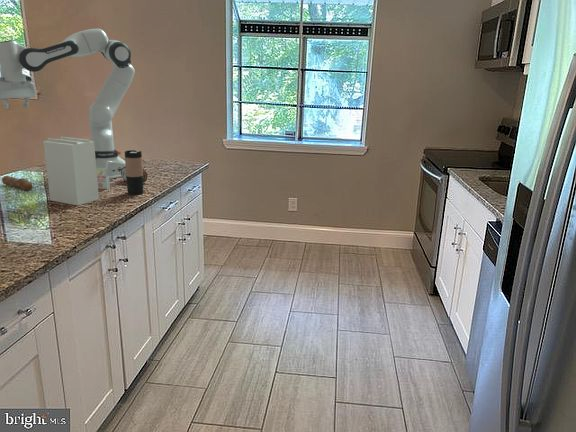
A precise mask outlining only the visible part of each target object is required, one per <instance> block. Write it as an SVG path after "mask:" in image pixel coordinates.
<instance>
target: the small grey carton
mask: <svg viewBox="0 0 576 432" xmlns="http://www.w3.org/2000/svg"><path fill="white" fill-rule="evenodd" d="M96 170H97V181H98V190H106V191H107V190H109V189H110V188H111V186H110V184H111V183H110V179H109V174H108V170H107V169H102V168H96Z"/></svg>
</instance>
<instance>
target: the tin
mask: <svg viewBox="0 0 576 432" xmlns="http://www.w3.org/2000/svg"><path fill="white" fill-rule="evenodd" d="M121 176H122V177H121V178H122V179H123V181H125V182H127V180H126V167H123V168H122V169H121ZM147 180H148V173H147V171H146V170H145V169H144V168H143V184H144V183H146V181H147Z"/></svg>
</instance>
